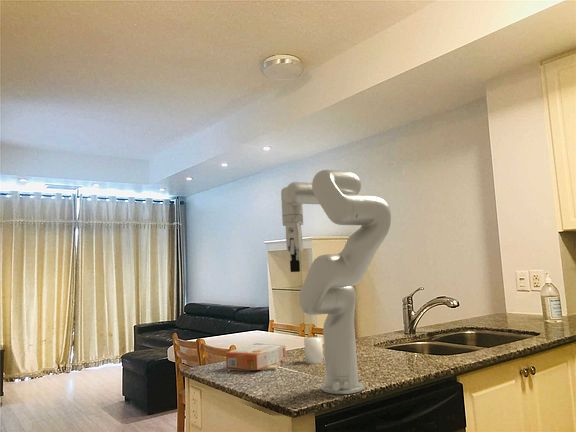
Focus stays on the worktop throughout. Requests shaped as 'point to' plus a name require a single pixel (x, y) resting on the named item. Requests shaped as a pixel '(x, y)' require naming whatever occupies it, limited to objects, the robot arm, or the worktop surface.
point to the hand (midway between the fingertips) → (295, 271)
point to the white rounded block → (313, 350)
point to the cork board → (270, 367)
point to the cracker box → (255, 356)
